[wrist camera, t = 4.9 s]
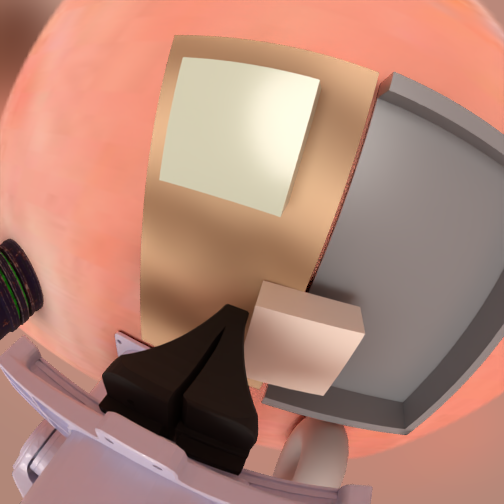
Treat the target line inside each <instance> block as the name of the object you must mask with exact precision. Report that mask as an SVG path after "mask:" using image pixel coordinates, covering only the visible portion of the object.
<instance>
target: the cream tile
mask: <svg viewBox="0 0 504 504" xmlns="http://www.w3.org/2000/svg"><path fill="white" fill-rule="evenodd" d="M364 335H365V330H364V324H363V319H362V314H361V308H360V307H358V306H355V305H351V304H347V303H343V302H339V301H336V300H332V299H328V298H325V297H321V296H317V295H314V294H310V293H306V292H303V291H299V290H296V289H292V288H289V287H285V286H282V285H278V284H274V283H271V282H267V281H264V280H263V283H262V286H261V289H260V292H259V296H258V299H257V302H256V305H255V309H254V312H253V316H252V319H251V322H250V326H249V329H248V333H247V336H246V340H245V343H244V359H245V369H246V376H247V378H249V379H253V380H256V381H260V382H264V383H268V384H272V385H276V386H280V387H284V388H288V389H293V390H297V391H302V392H306V393H311V394H316V395H321V396H324V394H325V393H326V392H327V390H328V389H329V387H330V386H331V385H332V383H333V382H334V380H335V379H336V378H337V376H338V375H339V373H340V372H341V370H342V369H343V368H344V366H345V365H346V363H347V362H348V360H349V359H350V357H351V356H352V354H353V353H354V351H355V349H356V348H357V346H358V345H359V343H360V342H361V340H362V338H363V337H364Z"/></svg>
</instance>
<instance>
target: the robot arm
mask: <svg viewBox="0 0 504 504" xmlns="http://www.w3.org/2000/svg"><path fill="white" fill-rule="evenodd" d="M248 316H249V312H248V311H246V310H243V309H241V308H238V307H235V306H233V305H230V304H226V305H224V306H223V307H222V308H221V309H220V310H219V311H218V312H217V313H215V314H214V315H213V316H212V317H210V318H209V319H208V320H206V321H205V322H203V323H202V324H201V325H199V326H197V327H196V328H194V329H193V330H191V331H189V332H188V333H186V334H184V335H182V336H180V337H178V338H176V339H174V340H172V341H169V342H167V343H165V344H162V345H159V346H157V347H153V348H150V347H148V346H146V345H144V344H142V343H140V342H138V341H136V340H134V339H132V338H130V337H129V336H127V335H125V334H123V333H121V332H117V333H116V334H115V341H116V347H117V353H118V358H117V359H116V360H115V361H113V362H112V363H111V365H110V366H109V367H108V368H107V369H106V371H105V372H104V373H103V375H102V379H101V380H100V381H99V382H98V383H97V385H96V386H95V387H94V388H93V389H92V391H91V392H90V393H87V392H86V391H84V390H83V389H81V388H80V387H79V386H77V385H76V384H74V383H73V382H72V381H71V380H69V379H68V378H67V377H65V376H64V375H63V374H61V373H60V372H59V371H58V370H57V369H55V368H54V367H53V366H52V365H50V364H49V363H48V362H47V361H46V360H44V359H43V358H42V357H41V354H40V352H39V350H38V348H37V347H36V346H35V345H34V344H33V343H32V342H31V341H30V340H29V339H28V338H27V337H25V335H23V336H22V337H21V338H19V339H18V340H17V341H16V342H15V343H14V344H13V345H12V346H11V347H10V348H8V349H7V350H6V351H5V352H4V353H3V354H2V355H1V356H0V367H1V369H2V371H3V372H4V374H5V375H6V377H7V378H8V380H9V381H10V383H11V384H12V386H13V387H14V388H15V389H16V390H17V391H18V393H19V394H20V395H21V396H22V397H23V398H24V399H25V400H26V401H27V402H28V403H29V404H30V405H31V406H32V407H33V408H34V409H35V410H36V411H37V412H38V413H39V414H40V415H41V416H43V417H44V418H45V419H44V420H43V421H42V422H41V423H40V424H39V425H38V427H37V428H36V429H35V430H34V431H33V433H32V434H31V435H30V437H29V438H28V439H27V441H26V442H25V444H24V445H23V447H22V449H21V451H20V455H19V457H18V458H17V460H16V462H15V463H14V465H13V469H14V471H13V472H12V476H13V478H14V481H15V483H16V485H17V487H18V489H19V491H20V493H21V495H22V497H23V500H22V501H21V502H20V504H371V496H372V486H365V485H345V486H342V487H341V488H339V489H338V488H330V487H323V486H316V485H310V484H305V483H299V482H294V481H290V480H285V479H281V478H276V477H272V476H268V475H264V474H261V473H257V472H254V471H250V470H247V469H243V466H244V464H245V461H246V459H247V457H248V455H249V452H250V449H251V448H252V447H253V445H254V444H255V443H256V441H257V437H258V415H257V412H256V409H255V407H254V404H253V401H252V397H251V394H250V390H249V385H248V381H247V376H246V369H245V359H244V334H245V326H246V322H247V319H248Z"/></svg>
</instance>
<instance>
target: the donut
mask: <svg viewBox="0 0 504 504" xmlns="http://www.w3.org/2000/svg"><path fill="white" fill-rule="evenodd" d="M348 454H349V451H348V437H347V434H346V431H345V428H344V426H343V425H341V424H336V423H332V422H327V421H323V420H319V419H315V418H311V417H306V418H304V419H303V420H302V421H301V422H300V423H299V424H298V425H297V426H296V427H295V428H294V430H293V431H292V432H291V434H290V435H289V437H288V439H287V441H286V443H285V445H284V447H283V449H282V451H281V454H280V456H279V459H278V462H277V464H276V467H275V470H274V474H273V477H276V478H281V479H285V480H290V481H294V482H299V483H305V484H310V485H316V486H323V487H330V488H338V489H339V488H340V486H341V483H342V480H343V478H344V475H345V472H346V466H347V461H348Z"/></svg>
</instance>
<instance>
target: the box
mask: <svg viewBox="0 0 504 504" xmlns="http://www.w3.org/2000/svg"><path fill="white" fill-rule="evenodd" d="M308 293H310V294H314V295H317V296H321V297H325V298H328V299H332V300H336V301H339V302H343V303H347V304H351V305H355V306H358V307H360V308H361V314H362V319H363V324H364V330H365V335H364V337H363V338H362V340H361V342H360V343H359V345H358V346H357V348H356V349H355V351H354V353H353V354H352V356H351V357H350V359H349V360H348V362H347V363H346V365H345V366H344V368H343V369H342V370H341V372H340V373H339V375H338V376H337V378H336V379H335V380H334V382H333V383H332V385H331V386H330V387H329V389H328V390H327V392H326V393H325V394H324V396H321V395H316V394H311V393H306V392H302V391H297V390H293V389H288V388H284V387H280V386H276V385H272V384H268V383H267V387H266V390H265V393H264V396H263V399H262V402H261V403H263V404H266V405H269V406H273V407H276V408H279V409H282V410H286V411H289V412H293V413H296V414H300V415H303V416H307V417H311V418H315V419H319V420H323V421H327V422H332V423H336V424H341V425H346V426H351V427H356V428H361V429H367V430H373V431H379V432H386V433H393V434H401V435H407V434H409V433H410V432H411V431H413V430H414V429H415V428H416V427H418V426H419V425H420V424H421V423H422V422H424V421H425V420H426V419H427V418H428V417H430V416H431V415H432V414H433V413H434V412H435V411H436V410H437V409H439V408H440V407H441V406H442V405H443V404H444V403H445V402H446V401H447V400H448V399H449V398H450V397H451V396H452V395H453V394H454V393H455V392H456V391H457V390H458V389H459V388H460V387H461V386H462V385H463V384H464V383H465V382H466V381H467V380H468V379H469V378H470V377H471V376H472V375H473V374H474V372H475V371H476V370H477V369H478V368H479V367H480V366H481V364H482V363H483V362H484V361H485V360H486V359H487V357H488V356H489V355H490V354H491V352H492V351H493V350H494V349H495V347H496V346H497V345H498V343H499V342H500V341H501V340H502V338H503V337H504V135H503V134H502V133H501V132H499V131H498V130H497V129H495V128H494V127H492V126H491V125H490V124H488V123H487V122H485V121H484V120H482V119H481V118H479V117H478V116H476V115H475V114H473V113H472V112H470V111H469V110H467V109H466V108H464V107H462V106H461V105H459V104H457V103H456V102H454V101H452V100H450V99H449V98H447V97H445V96H443V95H441V94H440V93H438V92H436V91H434V90H432V89H430V88H428V87H426V86H424V85H422V84H420V83H418V82H416V81H414V80H412V79H409V78H407V77H405V76H403V75H401V74H398V73H396V72H393V73H392V74H391V75H390V76H389V77H387V78H386V79H385V80H384V81H383V82H382V83H381V84H380V87H379V90H378V94H377V98H376V102H375V105H374V109H373V112H372V116H371V119H370V123H369V126H368V129H367V133H366V136H365V139H364V142H363V146H362V149H361V152H360V155H359V158H358V161H357V164H356V167H355V170H354V173H353V176H352V179H351V182H350V185H349V188H348V191H347V194H346V196H345V199H344V202H343V205H342V207H341V210H340V213H339V216H338V218H337V221H336V224H335V226H334V229H333V232H332V234H331V237H330V239H329V242H328V244H327V247H326V249H325V252H324V255H323V257H322V259H321V262H320V264H319V267H318V269H317V272H316V274H315V276H314V279H313V281H312V284H311V286H310V288H309V291H308Z"/></svg>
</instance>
